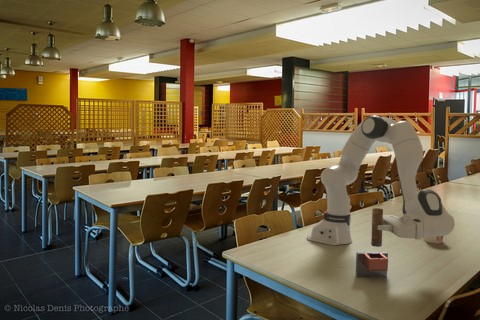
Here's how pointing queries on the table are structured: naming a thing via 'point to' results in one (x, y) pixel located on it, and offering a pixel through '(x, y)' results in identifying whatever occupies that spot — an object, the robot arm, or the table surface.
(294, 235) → the table surface
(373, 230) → the brown cylinder
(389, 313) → the table surface
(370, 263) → the drawer
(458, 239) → the table surface
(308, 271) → the table surface
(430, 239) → the teacup with lid
